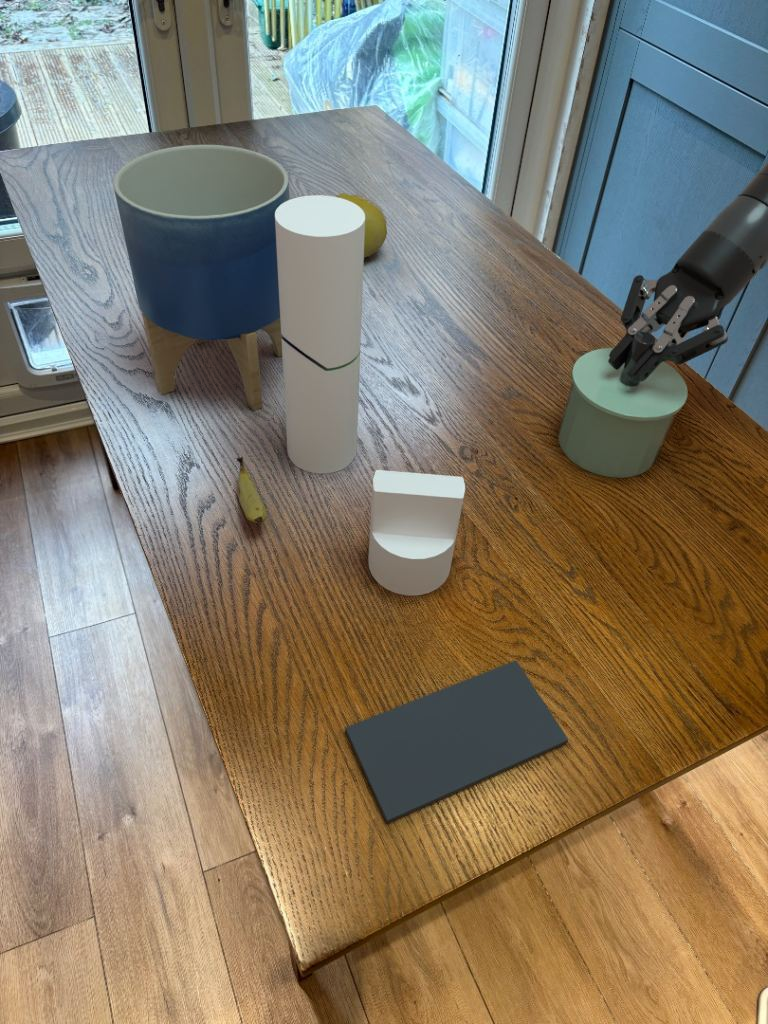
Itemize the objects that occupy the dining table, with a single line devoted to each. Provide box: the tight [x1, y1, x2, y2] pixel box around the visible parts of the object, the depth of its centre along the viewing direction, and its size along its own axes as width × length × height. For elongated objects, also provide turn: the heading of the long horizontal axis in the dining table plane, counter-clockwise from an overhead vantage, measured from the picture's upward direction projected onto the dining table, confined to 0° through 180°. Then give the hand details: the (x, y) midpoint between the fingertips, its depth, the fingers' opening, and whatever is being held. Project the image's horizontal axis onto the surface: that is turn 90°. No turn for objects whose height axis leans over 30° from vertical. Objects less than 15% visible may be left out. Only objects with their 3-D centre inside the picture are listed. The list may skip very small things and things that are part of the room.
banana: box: [236, 456, 267, 524], centre depth 84 cm, size 10×2×4 cm, turn 19°
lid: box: [571, 332, 688, 421], centre depth 88 cm, size 14×14×7 cm
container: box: [275, 194, 365, 475], centre depth 82 cm, size 9×9×30 cm
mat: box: [344, 660, 569, 824], centre depth 67 cm, size 18×9×1 cm, turn 115°
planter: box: [113, 144, 290, 411], centre depth 93 cm, size 19×19×26 cm
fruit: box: [334, 192, 388, 259], centre depth 124 cm, size 10×11×10 cm
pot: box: [557, 381, 677, 479], centre depth 93 cm, size 13×13×10 cm
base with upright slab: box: [367, 469, 466, 597], centre depth 77 cm, size 9×9×12 cm
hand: (622, 372), depth 87 cm, fingers closed on lid, 2 cm apart
